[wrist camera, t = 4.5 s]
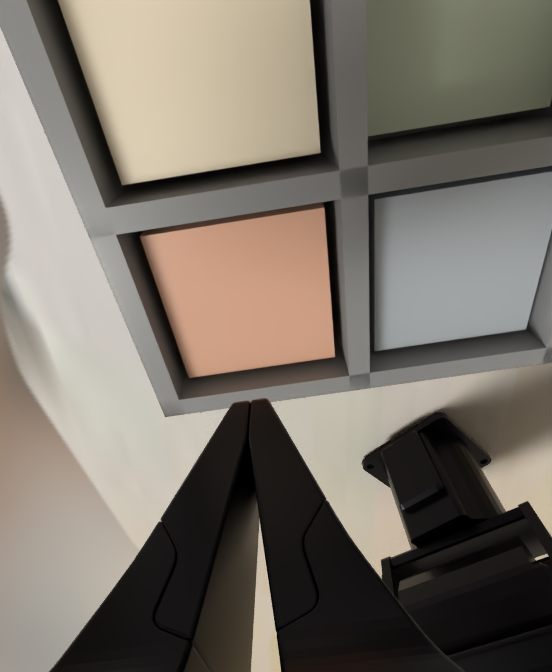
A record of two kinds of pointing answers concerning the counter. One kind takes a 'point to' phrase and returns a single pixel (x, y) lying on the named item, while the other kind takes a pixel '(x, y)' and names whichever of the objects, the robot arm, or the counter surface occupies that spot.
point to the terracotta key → (246, 289)
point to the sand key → (197, 81)
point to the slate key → (457, 257)
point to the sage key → (455, 60)
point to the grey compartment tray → (276, 193)
